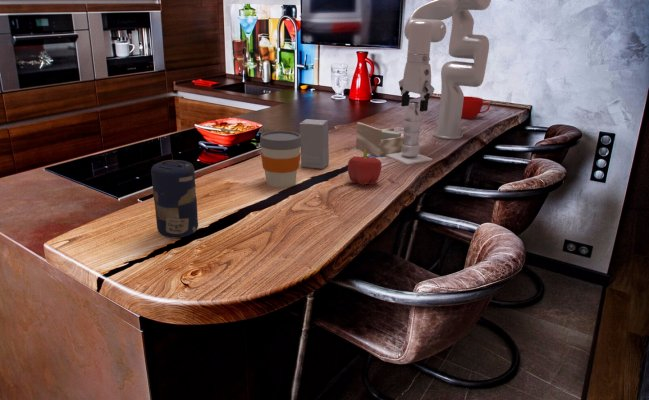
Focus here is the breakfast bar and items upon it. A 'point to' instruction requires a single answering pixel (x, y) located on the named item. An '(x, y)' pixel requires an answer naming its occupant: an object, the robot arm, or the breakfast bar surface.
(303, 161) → the skincare box
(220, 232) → the breakfast bar surface
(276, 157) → the reusable coffee cup
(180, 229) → the canister
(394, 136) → the offcut top
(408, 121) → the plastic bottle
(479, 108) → the ceramic cup
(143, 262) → the breakfast bar surface
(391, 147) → the frame
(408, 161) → the pad
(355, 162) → the vegetable
